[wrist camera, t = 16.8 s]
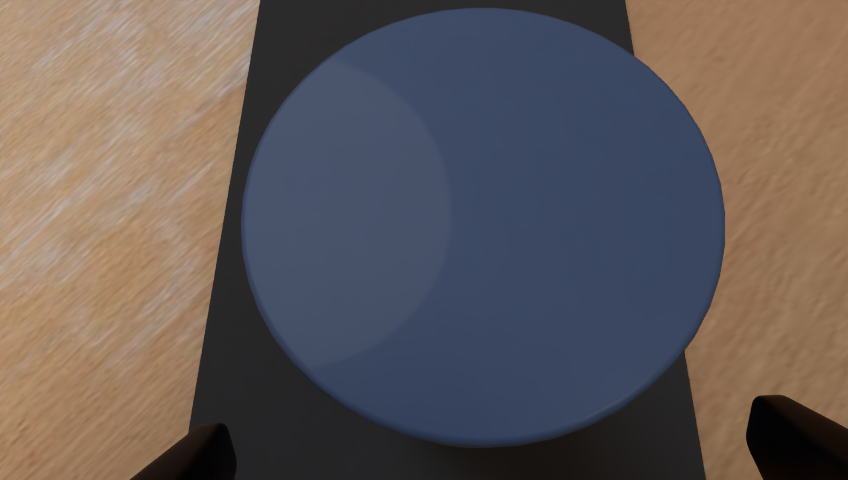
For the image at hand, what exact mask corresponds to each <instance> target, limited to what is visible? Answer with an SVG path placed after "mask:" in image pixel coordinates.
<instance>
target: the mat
mask: <svg viewBox="0 0 848 480" xmlns="http://www.w3.org/2000/svg"><path fill="white" fill-rule="evenodd" d="M463 8H502V9H511V10H521V11H527V12H532V13H537V14H541V15H546V16H550V17H554V18H557V19H560V20H563V21H566V22H569V23H573V24H576V25H578V26H580V27H582V28H585V29H587V30H589V31H592V32H594V33H596V34H598V35H601V36H602V37H604V38H606V39H608V40H609V41H611V42H613V43H615V44H616V45H618V46H620V47H622V48H623V49H625V50H626V51H628V52H629V53H630V54H632V55H633V56H634V52H633V46H632V40H631V34H630V28H629V22H628V16H627V10H626V5H625V0H260V6H259V12H258V18H257V24H256V30H255V36H254V42H253V48H252V54H251V60H250V66H249V72H248V78H247V84H246V90H245V96H244V102H243V108H242V114H241V120H240V126H239V132H238V138H237V144H236V150H235V156H234V162H233V168H232V174H231V180H230V186H229V192H228V198H227V204H226V210H225V216H224V222H223V228H222V234H221V240H220V246H219V252H218V258H217V264H216V270H215V276H214V282H213V288H212V294H211V300H210V306H209V312H208V318H207V324H206V330H205V336H204V342H203V348H202V354H201V360H200V366H199V372H198V378H197V384H196V390H195V396H194V402H193V408H192V414H191V420H190V426H189V432H188V434H189V433H190V432H191V431H193V430H194V429H195V428H196V427H198V426H199V425H201V424H208V423H223V424H225V425H226V426H227V428H228V430H229V434H230V437H231V440H232V444H233V447H234V451H235V454H236V458H237V470H236V475H235V479H234V480H706V478H705V472H704V466H703V460H702V454H701V448H700V442H699V436H698V430H697V424H696V418H695V413H694V407H693V401H692V395H691V389H690V383H689V377H688V371H687V365H686V359H685V353H684V352H683V353H682V355H681V356H680V357H679V359H678V360H677V362H676V363H675V364H674V365H673V366H672V367H671V368H670V369H669V370H668V371H667V372H666V373H665V374H664V375H663V376H662V377H661V378H660V379H659V380H658V381H657V382H656V383H655V384H654V385H653V386H652V387H651V388H650V389H648V390H647V391H646V392H644V393H643V394H642V395H640V396H639V397H638V398H636V399H635V400H634V401H632V402H631V403H630V404H628V405H627V406H626V407H624V408H623V409H621V410H619V411H617V412H616V413H614V414H612V415H610V416H608V417H606V418H604V419H602V420H600V421H599V422H597V423H595V424H593V425H591V426H589V427H586V428H583V429H580V430H578V431H575V432H572V433H569V434H566V435H564V436H561V437H558V438H555V439H550V440H545V441H540V442H535V443H530V444H526V445H521V446H508V447H491V448H464V447H454V446H447V445H442V444H437V443H433V442H428V441H424V440H419V439H415V438H410V437H407V436H404V435H401V434H399V433H396V432H393V431H391V430H388V429H385V428H383V427H380V426H377V425H375V424H373V423H371V422H369V421H367V420H366V419H364V418H362V417H360V416H358V415H356V414H355V413H353V412H351V411H349V410H347V409H345V408H344V407H342V406H341V405H340V404H338V403H337V402H336V401H334V400H333V399H332V398H330V397H329V396H327V395H326V394H325V393H323V392H322V391H321V390H319V389H318V388H317V387H316V386H315V385H314V384H313V383H312V382H311V381H310V380H309V379H308V378H307V377H306V376H305V375H304V374H303V373H302V372H301V371H300V370H299V369H298V368H297V367H296V366H295V365H294V364H293V363H292V362H291V361H290V359H289V358H288V357H287V355H286V354H285V353H284V351H283V350H282V349H281V347H280V346H279V345H278V343H277V342H276V341H275V339H274V338H273V336H272V334H271V332H270V331H269V329H268V327H267V325H266V323H265V321H264V319H263V318H262V316H261V314H260V312H259V310H258V307H257V305H256V302H255V299H254V296H253V294H252V291H251V288H250V285H249V283H248V278H247V273H246V268H245V263H244V258H243V253H242V236H241V216H242V204H243V194H244V190H245V185H246V181H247V176H248V172H249V168H250V165H251V163H252V160H253V157H254V154H255V152H256V149H257V146H258V144H259V142H260V140H261V138H262V136H263V134H264V132H265V130H266V128H267V127H268V125H269V123H270V121H271V119H272V118H273V116H274V115H275V114H276V112H277V111H278V109H279V108H280V106H281V105H282V103H283V102H284V101H285V99H286V98H287V97H288V96H289V95H290V93H291V92H292V91H293V90H294V89H295V88H296V87H297V86H298V84H299V83H300V82H301V81H302V80H303V79H304V78H305V77H306V76H307V75H308V74H310V73H311V72H312V71H313V70H314V69H315V68H316V67H317V66H319V65H320V64H321V63H322V62H323V61H325V60H326V59H327V58H329V57H330V56H332V55H333V54H334V53H336V52H337V51H339V50H340V49H342V48H343V47H344V46H346V45H348V44H350V43H352V42H353V41H355V40H357V39H359V38H361V37H362V36H364V35H366V34H368V33H370V32H373V31H375V30H377V29H380V28H382V27H384V26H387V25H389V24H392V23H395V22H398V21H401V20H404V19H408V18H411V17H414V16H418V15H423V14H428V13H433V12H438V11H443V10H453V9H463Z"/></svg>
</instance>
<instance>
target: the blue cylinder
mask: <svg viewBox="0 0 848 480" xmlns="http://www.w3.org/2000/svg"><path fill="white" fill-rule="evenodd" d="M241 236H242V253H243V258H244V263H245V268H246V273H247V278H248V283H249V285H250V288H251V291H252V294H253V296H254V299H255V302H256V305H257V307H258V310H259V312H260V314H261V316H262V318H263V319H264V321H265V323H266V325H267V327H268V329H269V331H270V332H271V334H272V336H273V338H274V339H275V341H276V342H277V343H278V345H279V346H280V347H281V349H282V350H283V351H284V353H285V354H286V355H287V357H288V358H289V359H290V361H291V362H292V363H293V364H294V365H295V366H296V367H297V368H298V369H299V370H300V371H301V372H302V373H303V374H304V375H305V376H306V377H307V378H308V379H309V380H310V381H311V382H312V383H313V384H314V385H315V386H316V387H317V388H318V389H319V390H321V391H322V392H323V393H325V394H326V395H327V396H329V397H330V398H332V399H333V400H334V401H336V402H337V403H338V404H340V405H341V406H342V407H344V408H345V409H347V410H349V411H351V412H353V413H355V414H356V415H358V416H360V417H362V418H364V419H366V420H367V421H369V422H371V423H373V424H375V425H377V426H380V427H383V428H385V429H388V430H391V431H393V432H396V433H399V434H401V435H404V436H407V437H410V438H415V439H419V440H424V441H428V442H433V443H437V444H442V445H447V446H454V447H464V448H491V447H508V446H521V445H526V444H530V443H535V442H540V441H545V440H550V439H555V438H558V437H561V436H564V435H566V434H569V433H572V432H575V431H578V430H580V429H583V428H586V427H589V426H591V425H593V424H595V423H597V422H599V421H600V420H602V419H604V418H606V417H608V416H610V415H612V414H614V413H616V412H617V411H619V410H621V409H623V408H624V407H626V406H627V405H628V404H630V403H631V402H632V401H634V400H635V399H636V398H638V397H639V396H640V395H642V394H643V393H644V392H646V391H647V390H648V389H650V388H651V387H652V386H653V385H654V384H655V383H656V382H657V381H658V380H659V379H660V378H661V377H662V376H663V375H664V374H665V373H666V372H667V371H668V370H669V369H670V368H671V367H672V366H673V365H674V364H675V363H676V362H677V360H678V359H679V357H680V356H681V355H682V353H683V352H684V350H685V349H686V348H687V346H688V345H689V344H690V342H691V341H692V339H693V338H694V337H695V335H696V333H697V331H698V329H699V327H700V325H701V323H702V321H703V319H704V317H705V315H706V314H707V312H708V310H709V308H710V305H711V302H712V299H713V296H714V293H715V290H716V287H717V284H718V281H719V277H720V272H721V266H722V260H723V253H724V247H725V210H724V203H723V197H722V190H721V183H720V180H719V177H718V173H717V170H716V167H715V163H714V160H713V157H712V154H711V152H710V150H709V148H708V146H707V144H706V141H705V139H704V137H703V135H702V133H701V131H700V129H699V127H698V126H697V124H696V123H695V121H694V119H693V118H692V116H691V115H690V113H689V112H688V110H687V108H686V107H685V105H684V104H683V103H682V102H681V101H680V100H679V98H678V97H677V96H676V95H675V94H674V92H673V91H672V90H671V89H670V88H669V86H668V85H667V84H666V83H665V82H664V81H663V80H662V79H661V78H659V77H658V76H657V75H656V74H655V73H654V72H653V71H652V70H651V69H650V68H649V67H648V66H647V65H645V64H644V63H643V62H641V61H640V60H638V59H637V58H636V57H634V56H633V55H632V54H630V53H629V52H628V51H626V50H625V49H623V48H622V47H620V46H618V45H616V44H615V43H613V42H611V41H609V40H608V39H606V38H604V37H602V36H601V35H598V34H596V33H594V32H592V31H589V30H587V29H585V28H582V27H580V26H578V25H576V24H573V23H569V22H566V21H563V20H560V19H557V18H554V17H550V16H546V15H541V14H537V13H532V12H527V11H521V10H511V9H502V8H463V9H453V10H443V11H438V12H433V13H428V14H423V15H418V16H414V17H411V18H408V19H404V20H401V21H398V22H395V23H392V24H389V25H387V26H384V27H382V28H380V29H377V30H375V31H373V32H370V33H368V34H366V35H364V36H362V37H361V38H359V39H357V40H355V41H353V42H352V43H350V44H348V45H346V46H344V47H343V48H342V49H340V50H339V51H337V52H336V53H334V54H333V55H332V56H330V57H329V58H327V59H326V60H325V61H323V62H322V63H321V64H320V65H319V66H317V67H316V68H315V69H314V70H313V71H312V72H311V73H310V74H308V75H307V76H306V77H305V78H304V79H303V80H302V81H301V82H300V83H299V84H298V86H297V87H296V88H295V89H294V90H293V91H292V92H291V93H290V95H289V96H288V97H287V98H286V99H285V101H284V102H283V103H282V105H281V106H280V108H279V109H278V111H277V112H276V114H275V115H274V116H273V118H272V119H271V121H270V123H269V125H268V127H267V128H266V130H265V132H264V134H263V136H262V138H261V140H260V142H259V144H258V146H257V149H256V152H255V154H254V157H253V160H252V163H251V165H250V168H249V172H248V176H247V181H246V185H245V190H244V194H243V204H242V216H241Z"/></svg>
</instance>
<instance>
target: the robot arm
mask: <svg viewBox="0 0 848 480" xmlns="http://www.w3.org/2000/svg"><path fill="white" fill-rule="evenodd" d="M746 440H747V445H748V448H749V450H750V453H751V455H752V457H753V459H754V461H755V463H756V465H757V467H758V469H759V472H760V474H761V476H762V478H763V480H848V429H847V428H845V427H843V426H842V425H840V424H838V423H836V422H834V421H832V420H830V419H828V418H826V417H824V416H822V415H821V414H819V413H817V412H815V411H813V410H811V409H809V408H807V407H805V406H803V405H801V404H800V403H798V402H796V401H794V400H792V399H790V398H788V397H786V396H783V395H762V396H758V397H756V398H755V399H754V400H753V403H752V407H751V412H750V416H749V421H748V426H747V431H746ZM236 470H237V458H236V454H235V451H234V447H233V444H232V440H231V437H230V434H229V430H228V428H227V426H226V425H225V424H223V423H208V424H201V425H199V426H198V427H196V428H195V429H194V430H193V431H191V432H190V433H189V434H187V435H186V436H185V437H184V438H182V439H181V440H180V441H178V442H177V443H176V444H175V445H173V446H172V447H171V448H170V449H168V450H167V451H166V452H164V453H163V454H162V455H161V456H159V457H158V458H157V459H155V460H154V461H153V462H152V463H150V464H149V465H148V466H146V467H145V468H144V469H143V470H141V471H140V472H139V473H137V474H136V475H135V476H134V477H132V478H131V479H130V480H234V479H235V475H236Z"/></svg>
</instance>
